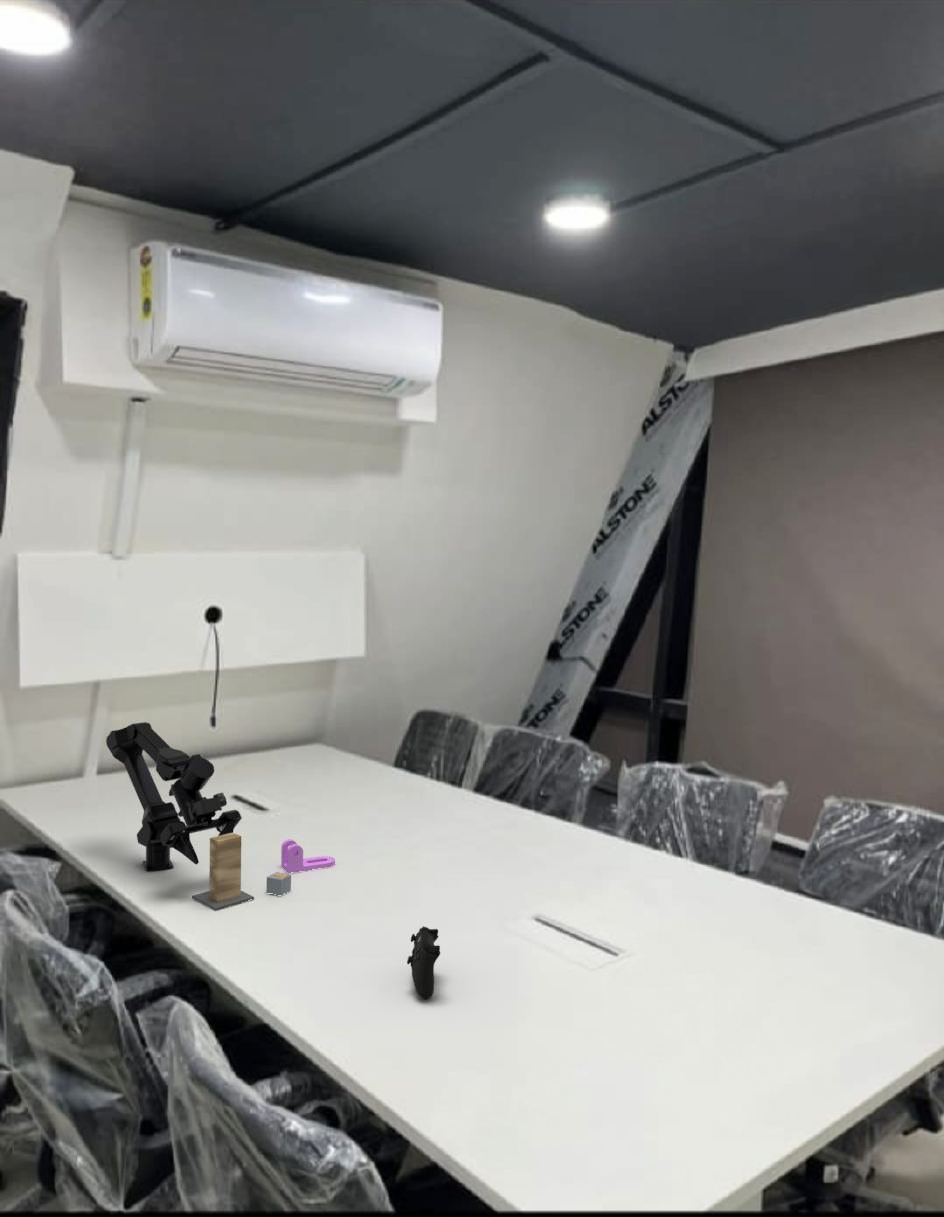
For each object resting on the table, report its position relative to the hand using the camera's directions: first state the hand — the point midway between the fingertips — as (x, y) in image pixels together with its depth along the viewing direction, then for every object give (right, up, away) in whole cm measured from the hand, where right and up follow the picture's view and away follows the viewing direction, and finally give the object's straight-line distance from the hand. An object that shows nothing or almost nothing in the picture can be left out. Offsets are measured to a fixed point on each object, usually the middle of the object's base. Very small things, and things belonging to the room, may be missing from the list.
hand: (215, 858), depth 229 cm
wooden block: (+3, -8, -2) cm, 9 cm away
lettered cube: (+14, -9, +3) cm, 17 cm away
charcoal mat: (+2, -9, -2) cm, 9 cm away
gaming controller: (+50, -14, -41) cm, 66 cm away
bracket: (+18, -8, +21) cm, 29 cm away
